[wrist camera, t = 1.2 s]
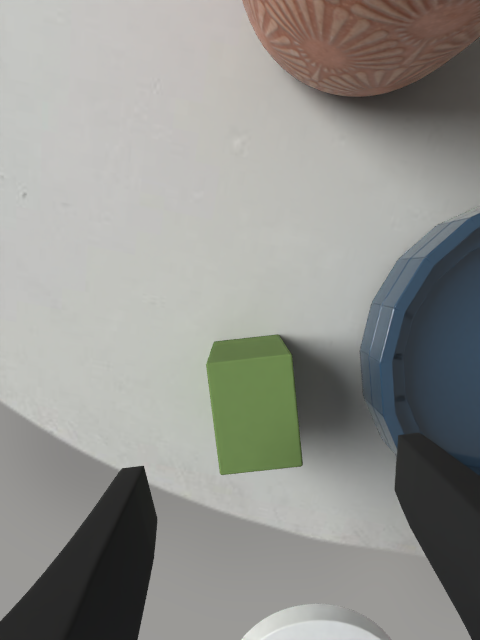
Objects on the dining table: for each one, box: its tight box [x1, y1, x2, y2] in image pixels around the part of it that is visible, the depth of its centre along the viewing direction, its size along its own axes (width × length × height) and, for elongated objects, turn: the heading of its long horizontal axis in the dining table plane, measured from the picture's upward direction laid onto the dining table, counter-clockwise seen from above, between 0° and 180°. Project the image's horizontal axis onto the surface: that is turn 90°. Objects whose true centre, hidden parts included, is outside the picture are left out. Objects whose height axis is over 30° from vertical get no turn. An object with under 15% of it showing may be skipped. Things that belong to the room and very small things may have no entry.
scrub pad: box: [206, 335, 303, 475], centre depth 19 cm, size 5×4×5 cm
